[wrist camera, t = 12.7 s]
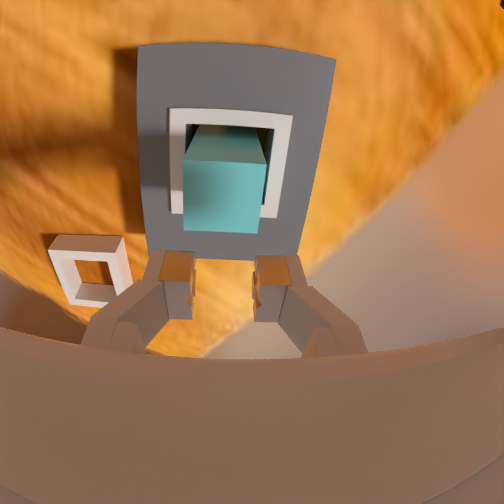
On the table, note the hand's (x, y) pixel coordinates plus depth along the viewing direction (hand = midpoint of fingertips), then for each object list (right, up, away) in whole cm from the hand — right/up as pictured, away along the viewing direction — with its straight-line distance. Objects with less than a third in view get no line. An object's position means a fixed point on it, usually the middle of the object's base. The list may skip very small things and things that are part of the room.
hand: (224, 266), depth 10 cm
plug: (-1, +8, +10) cm, 13 cm away
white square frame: (-15, -1, +16) cm, 22 cm away
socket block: (-1, +8, +10) cm, 13 cm away
